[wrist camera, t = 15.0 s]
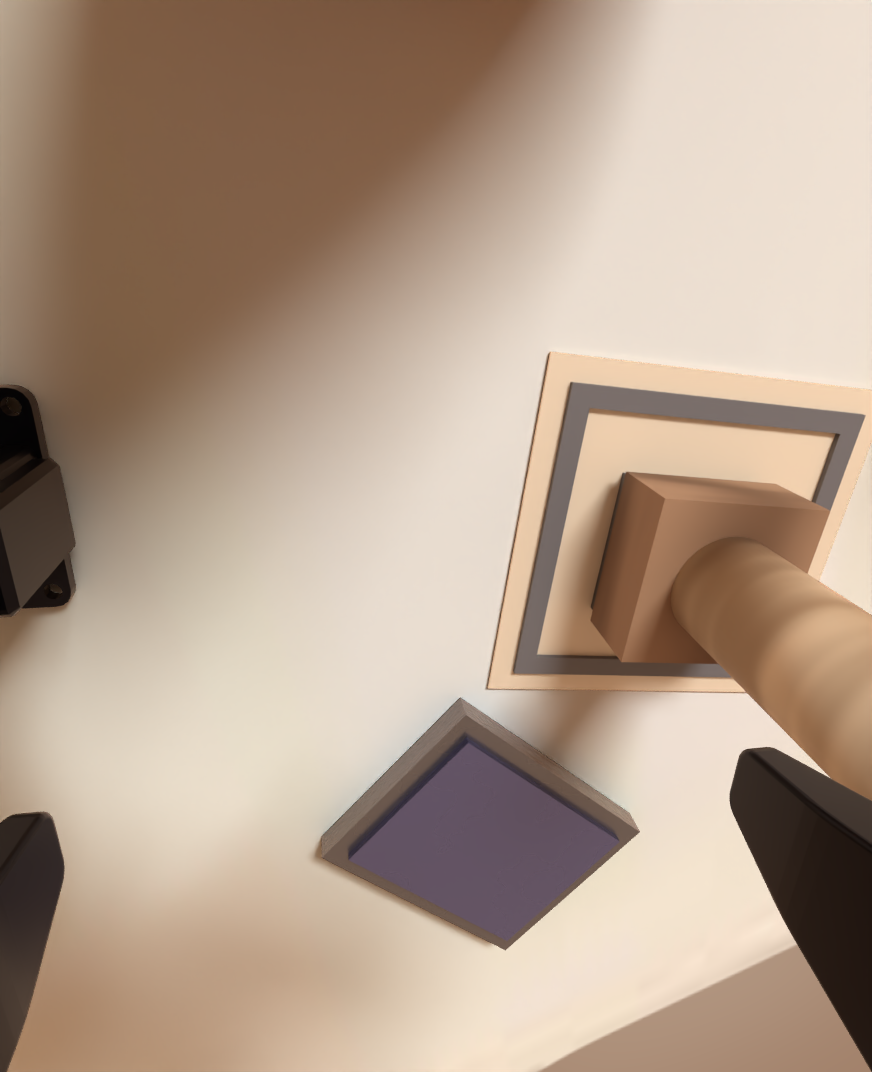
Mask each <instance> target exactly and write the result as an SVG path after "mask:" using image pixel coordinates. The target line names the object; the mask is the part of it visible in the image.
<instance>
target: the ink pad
mask: <svg viewBox="0 0 872 1072" xmlns="http://www.w3.org/2000/svg"><path fill="white" fill-rule="evenodd" d="M639 832H640V831H639V829H638V828H637V826H636V824H635V822H634V820H633V819H632V817H631V815H630V813H629V812H627V811H626V810H624V809H623V808H621V807H620V806H618V805H617V804H615V803H614V802H612V801H611V800H610V799H608V798H607V797H605V796H604V795H602V794H601V793H599V792H598V791H596V790H595V789H593V788H592V787H590V786H589V785H588V784H586V783H585V782H583V781H582V780H580V779H579V778H577V777H576V776H574V775H573V774H571V773H570V772H568V771H567V770H566V769H564V768H563V767H561V766H560V765H558V764H557V763H555V762H554V761H552V760H551V759H549V758H548V757H547V756H545V755H544V754H542V753H541V752H539V751H538V750H536V749H535V748H533V747H532V746H530V745H529V744H527V743H526V742H525V741H523V740H522V739H520V738H519V737H517V736H516V735H514V734H513V733H511V732H510V731H508V730H507V729H505V728H504V727H503V726H501V725H500V724H498V723H497V722H495V721H494V720H492V719H491V718H489V717H488V716H486V715H485V714H484V713H482V712H481V711H479V710H478V709H476V708H475V707H473V706H472V705H470V704H469V703H467V702H466V701H464V700H463V699H462V698H460V699H459V700H458V701H457V702H456V703H455V704H454V705H453V706H452V707H451V708H450V709H449V710H448V711H447V712H446V713H445V714H444V715H443V716H442V717H441V718H440V719H439V720H438V721H437V722H436V723H435V724H434V725H433V726H432V727H431V728H430V729H429V730H428V731H427V732H426V733H425V734H424V735H423V736H422V737H421V738H420V739H419V740H418V741H417V742H416V743H415V744H414V745H413V746H412V747H411V748H410V749H409V750H408V751H407V752H406V753H405V754H404V755H403V756H402V757H401V758H400V759H399V760H398V761H397V762H396V763H395V764H394V765H393V766H392V767H391V768H390V769H389V770H388V771H387V772H386V773H385V774H384V775H383V776H382V777H381V778H380V779H379V780H378V781H377V782H376V783H375V784H374V785H373V786H372V787H371V788H370V789H369V790H368V791H367V792H366V793H365V794H364V795H363V796H362V797H361V798H360V799H359V800H358V801H357V802H356V803H355V804H354V805H353V806H352V807H351V808H350V809H349V810H348V811H347V812H346V813H345V814H344V815H343V816H342V817H341V818H340V819H339V820H338V821H337V822H336V823H335V824H334V825H333V826H332V827H331V828H330V829H329V830H328V831H327V832H326V833H325V834H324V835H323V836H322V858H323V859H325V860H327V861H329V862H331V863H333V864H335V865H337V866H339V867H341V868H343V869H345V870H347V871H349V872H351V873H353V874H355V875H357V876H359V877H361V878H363V879H365V880H367V881H369V882H371V883H373V884H375V885H377V886H379V887H381V888H383V889H385V890H387V891H389V892H391V893H393V894H395V895H397V896H399V897H401V898H403V899H405V900H407V901H409V902H411V903H413V904H415V905H417V906H419V907H421V908H423V909H425V910H427V911H429V912H431V913H433V914H434V915H436V916H438V917H440V918H442V919H444V920H446V921H448V922H450V923H452V924H454V925H456V926H458V927H460V928H462V929H464V930H466V931H468V932H470V933H472V934H474V935H476V936H478V937H480V938H482V939H484V940H486V941H488V942H490V943H492V944H494V945H496V946H498V947H500V948H502V949H504V950H506V949H507V948H508V947H510V946H511V945H512V944H513V943H514V942H515V941H516V940H518V939H519V938H520V937H521V936H522V935H523V934H524V933H525V932H527V931H528V930H529V929H530V928H531V927H532V926H533V925H535V924H536V923H537V922H538V921H539V920H540V919H541V918H543V917H544V916H545V915H546V914H547V913H548V912H549V911H550V910H552V909H553V908H554V907H555V906H556V905H557V904H558V903H560V902H561V901H562V900H563V899H564V898H565V897H566V896H568V895H569V894H570V893H571V892H572V891H573V890H574V889H576V888H577V887H578V886H579V885H580V884H581V883H582V882H583V881H585V880H586V879H587V878H588V877H589V876H590V875H591V874H593V873H594V872H595V871H596V870H597V869H598V868H599V867H601V866H602V865H603V864H604V863H605V862H606V861H607V860H608V859H610V858H611V857H612V856H613V855H614V854H615V853H616V852H618V851H619V850H620V849H621V848H622V847H623V846H624V845H626V844H627V843H628V842H629V841H630V840H631V839H632V838H634V837H635V836H636V835H637V834H638V833H639Z"/></svg>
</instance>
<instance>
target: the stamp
mask: <svg viewBox="0 0 872 1072" xmlns="http://www.w3.org/2000/svg"><path fill="white" fill-rule="evenodd" d="M829 514H830V510H828V509H826V508H824V507H822V506H820V505H818V504H816V503H814V502H812V501H810V500H808V499H806V498H804V497H801V496H799V495H797V494H795V493H793V492H791V491H789V490H787V489H785V488H783V487H781V486H779V485H777V484H772V483H760V482H748V481H735V480H723V479H711V478H699V477H687V476H675V475H663V474H650V473H638V472H626V473H622V478H621V482H620V486H619V490H618V494H617V498H616V503H615V507H614V511H613V515H612V519H611V523H610V528H609V532H608V536H607V540H606V544H605V549H604V553H603V557H602V561H601V565H600V569H599V574H598V578H597V582H596V586H595V590H594V594H593V599H592V603H591V609H592V610H593V611H592V615H591V619H590V621H591V622H592V623H593V625H594V626H595V627H596V629H597V630H598V631H599V633H600V634H601V636H602V637H603V638H604V640H605V641H606V642H607V644H608V645H609V646H610V648H611V649H612V650H613V652H614V653H615V654H616V656H617V657H618V658H619V660H620V661H621V662H643V663H689V664H719V665H720V666H721V667H722V668H723V669H724V670H725V671H726V672H727V673H728V674H729V675H730V676H731V677H732V678H733V679H734V680H735V681H736V682H737V683H738V684H739V685H740V686H741V687H742V688H743V689H744V690H745V691H746V692H747V693H748V694H749V695H750V696H751V697H752V698H753V699H754V700H755V701H756V702H757V703H758V705H759V706H760V707H761V708H762V709H763V710H764V711H765V712H766V713H767V714H768V715H769V716H770V717H771V718H772V719H773V720H774V721H775V722H776V723H777V724H778V725H779V726H780V727H781V728H782V729H783V730H784V731H785V732H786V733H787V734H788V735H789V736H790V737H791V738H792V739H793V740H794V741H795V742H796V743H797V744H798V745H799V746H800V747H801V748H802V749H803V750H804V751H805V752H806V753H807V754H808V755H809V756H810V757H811V758H812V759H813V760H814V761H815V762H816V763H817V765H818V766H819V767H820V768H821V769H822V770H823V771H824V772H825V773H826V774H827V775H828V776H829V777H830V778H831V779H832V780H834V781H836V782H838V783H840V784H842V785H844V786H845V787H847V788H849V789H851V790H853V791H855V792H857V793H858V794H860V795H862V796H864V797H866V798H868V799H870V800H871V801H872V615H871V614H869V613H867V612H866V611H864V610H863V609H861V608H860V607H858V606H857V605H855V604H854V603H852V602H850V601H849V600H847V599H846V598H844V597H843V596H841V595H840V594H838V593H836V592H835V591H833V590H832V589H830V588H829V587H827V586H826V585H824V584H823V583H821V582H819V581H818V580H816V579H815V578H813V577H812V576H810V575H809V574H808V571H809V568H810V566H811V563H812V560H813V557H814V555H815V552H816V549H817V547H818V544H819V541H820V538H821V536H822V533H823V530H824V528H825V525H826V522H827V519H828V517H829Z"/></svg>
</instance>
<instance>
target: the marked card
mask: <svg viewBox="0 0 872 1072" xmlns="http://www.w3.org/2000/svg"><path fill="white" fill-rule="evenodd" d="M871 442H872V390H868V389H860V388H851V387H843V386H834V385H826V384H818V383H809V382H801V381H793V380H784V379H776V378H767V377H759V376H751V375H742V374H734V373H726V372H717V371H709V370H700V369H692V368H684V367H675V366H667V365H659V364H650V363H642V362H633V361H625V360H617V359H608V358H600V357H591V356H583V355H575V354H566V353H558V352H550V354H549V360H548V365H547V370H546V376H545V381H544V386H543V392H542V397H541V403H540V408H539V413H538V419H537V424H536V429H535V435H534V440H533V446H532V451H531V456H530V462H529V467H528V473H527V478H526V483H525V489H524V494H523V499H522V505H521V510H520V516H519V521H518V526H517V532H516V537H515V542H514V548H513V553H512V559H511V564H510V569H509V575H508V580H507V586H506V591H505V596H504V602H503V607H502V612H501V618H500V623H499V629H498V634H497V639H496V645H495V650H494V655H493V661H492V666H491V672H490V677H489V682H488V689H553V690H626V691H699V692H746V691H745V690H744V689H743V688H742V687H741V686H740V685H739V684H738V683H737V682H736V681H735V680H734V679H733V678H732V677H731V676H730V675H729V674H728V673H727V672H726V671H725V670H724V669H723V668H722V667H721V666H720V665H719V664H689V663H643V662H621V661H620V660H619V658H618V657H617V656H616V654H615V653H614V652H613V650H612V649H611V648H610V646H609V645H608V644H607V642H606V641H605V640H604V638H603V637H602V636H601V634H600V633H599V631H598V630H597V629H596V627H595V626H594V625H593V623H592V622H591V621H590V619H591V615H592V611H593V610H592V609H591V603H592V599H593V594H594V590H595V586H596V582H597V578H598V574H599V569H600V565H601V561H602V557H603V553H604V549H605V544H606V540H607V536H608V532H609V528H610V523H611V519H612V515H613V511H614V507H615V503H616V498H617V494H618V490H619V486H620V482H621V478H622V473H626V472H638V473H650V474H663V475H675V476H687V477H699V478H711V479H723V480H735V481H748V482H760V483H772V484H777V485H779V486H781V487H783V488H785V489H787V490H789V491H791V492H793V493H795V494H797V495H799V496H801V497H804V498H806V499H808V500H810V501H812V502H814V503H816V504H818V505H820V506H822V507H824V508H826V509H828V510H830V514H829V517H828V519H827V522H826V525H825V528H824V530H823V533H822V536H821V538H820V541H819V544H818V547H817V549H816V552H815V555H814V557H813V560H812V563H811V566H810V568H809V571H808V574H809V575H810V576H812V577H813V578H815V579H816V580H818V581H819V580H820V577H821V575H822V572H823V569H824V567H825V564H826V561H827V559H828V556H829V554H830V551H831V548H832V546H833V543H834V540H835V538H836V535H837V532H838V530H839V527H840V524H841V522H842V519H843V517H844V514H845V511H846V509H847V506H848V503H849V501H850V498H851V495H852V493H853V490H854V487H855V485H856V482H857V480H858V477H859V474H860V472H861V469H862V466H863V464H864V461H865V458H866V456H867V453H868V450H869V448H870V445H871Z"/></svg>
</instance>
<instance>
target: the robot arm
mask: <svg viewBox="0 0 872 1072" xmlns="http://www.w3.org/2000/svg"><path fill="white" fill-rule="evenodd" d="M8 397H12V398H15V399H16V400H18V401H19V402H20V404H21V406H22V408H21V412H20V413H16V412H13V411H12V410H11V409H9V407H8V405H7V398H8ZM74 547H75V538H74V533H73V528H72V524H71V519H70V514H69V509H68V504H67V499H66V494H65V490H64V485H63V480H62V475H61V470H60V466H59V465H58V464H57V463H56V462H54V461H53V460H52V459H51V458H49V456H48V452H47V447H46V442H45V437H44V433H43V428H42V423H41V419H40V414H39V409H38V404H37V402H36V399H35V397H34V396H33V394H32V393H31V392H30V391H29V390H27V389H25V388H23V387H22V386H17V385H0V617H12V616H14V615H15V614H16V613H17V612H18V611H19V610H20V609H21V608H39V607H57V606H61V605H64V604H65V603H67V602H68V601H69V600H70V598H71V597H72V596H73V594H74V592H75V588H76V584H75V580H74V575H73V570H72V565H71V561H70V556H69V552H70V551H71V550H72V549H73V548H74ZM49 584H55V585H57V586H59V587H60V588H61V590H62V593H55V592H53V591H52V590H51V589H50V588H49ZM730 806H731V809H732V812H733V815H734V817H735V819H736V821H737V823H738V825H739V828H740V830H741V832H742V834H743V836H744V838H745V840H746V842H747V845H748V847H749V849H750V851H751V853H752V855H753V857H754V859H755V862H756V864H757V866H758V868H759V870H760V872H761V874H762V877H763V879H764V881H765V883H766V885H767V887H768V889H769V891H770V894H771V896H772V898H773V900H774V902H775V904H776V906H777V908H778V910H779V912H780V914H781V916H782V918H783V920H784V922H785V924H786V925H787V927H788V929H789V931H790V933H791V934H792V936H793V938H794V940H795V941H796V943H797V945H798V947H799V948H800V950H801V951H802V953H803V955H804V957H805V959H806V960H807V962H808V964H809V965H810V967H811V969H812V970H813V972H814V974H815V976H816V977H817V979H818V981H819V982H820V984H821V986H822V988H823V989H824V991H825V993H826V994H827V996H828V998H829V1000H830V1001H831V1003H832V1005H833V1006H834V1008H835V1010H836V1012H837V1013H838V1015H839V1017H840V1018H841V1020H842V1022H843V1023H844V1025H845V1027H846V1029H847V1030H848V1032H849V1034H850V1036H851V1037H852V1039H853V1041H854V1042H855V1044H856V1046H857V1048H858V1049H859V1051H860V1053H861V1054H862V1056H863V1058H864V1059H865V1061H866V1063H867V1064H868V1066H869V1068H870V1070H871V1072H872V801H871V800H870V799H868V798H866V797H864V796H862V795H860V794H858V793H857V792H855V791H853V790H851V789H849V788H847V787H845V786H844V785H842V784H840V783H838V782H836V781H834V780H832V779H831V778H829V777H827V776H825V775H823V774H821V773H820V772H818V771H816V770H814V769H812V768H810V767H808V766H807V765H805V764H803V763H801V762H799V761H797V760H795V759H794V758H792V757H790V756H788V755H786V754H784V753H783V752H781V751H779V750H777V749H775V748H771V747H763V748H752V749H746V750H744V751H743V752H742V753H741V754H740V756H739V759H738V763H737V766H736V770H735V774H734V778H733V782H732V786H731V790H730ZM63 879H64V859H63V855H62V851H61V847H60V843H59V839H58V835H57V831H56V827H55V824H54V820H53V818H52V816H51V815H50V814H49V813H47V812H32V813H21V814H15V815H11V816H9V817H8V818H6V819H5V820H3V821H2V822H1V823H0V1072H7V1070H8V1068H9V1065H10V1062H11V1060H12V1057H13V1054H14V1052H15V1049H16V1046H17V1043H18V1041H19V1038H20V1035H21V1032H22V1029H23V1026H24V1023H25V1020H26V1017H27V1014H28V1010H29V1007H30V1003H31V1000H32V996H33V993H34V989H35V985H36V981H37V978H38V974H39V970H40V966H41V963H42V959H43V955H44V951H45V948H46V944H47V940H48V936H49V932H50V929H51V925H52V921H53V917H54V914H55V910H56V906H57V902H58V899H59V895H60V891H61V887H62V883H63Z"/></svg>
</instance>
